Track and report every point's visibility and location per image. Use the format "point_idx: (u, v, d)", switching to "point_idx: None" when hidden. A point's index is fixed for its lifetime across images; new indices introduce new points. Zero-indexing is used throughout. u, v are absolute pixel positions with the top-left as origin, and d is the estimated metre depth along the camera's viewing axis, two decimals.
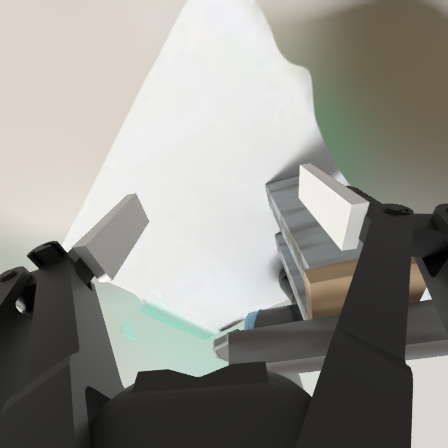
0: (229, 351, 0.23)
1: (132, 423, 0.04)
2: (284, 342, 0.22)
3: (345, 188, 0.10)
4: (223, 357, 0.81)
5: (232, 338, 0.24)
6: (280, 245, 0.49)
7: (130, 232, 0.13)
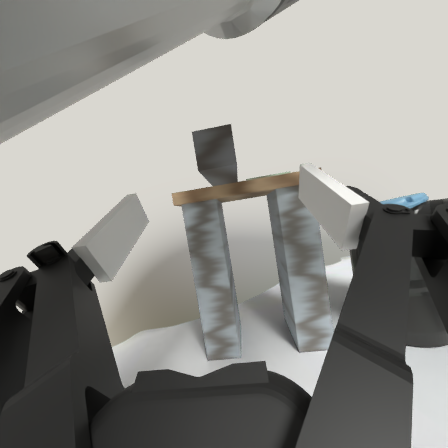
0: (195, 149, 0.19)
1: (132, 423, 0.04)
2: None
3: (345, 188, 0.10)
4: None
5: None
6: (294, 323, 0.32)
7: (130, 232, 0.13)
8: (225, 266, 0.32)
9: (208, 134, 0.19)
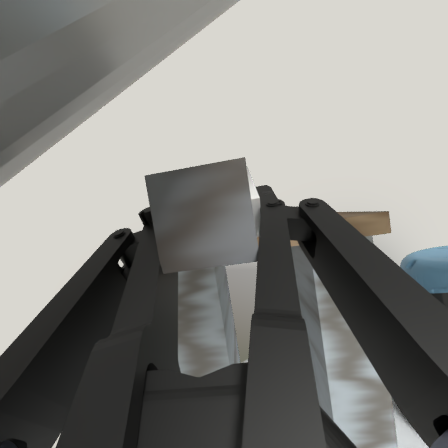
0: (153, 218, 0.08)
1: (132, 423, 0.04)
2: None
3: (253, 187, 0.12)
4: None
5: None
6: None
7: None
8: (227, 360, 0.20)
9: (186, 183, 0.07)
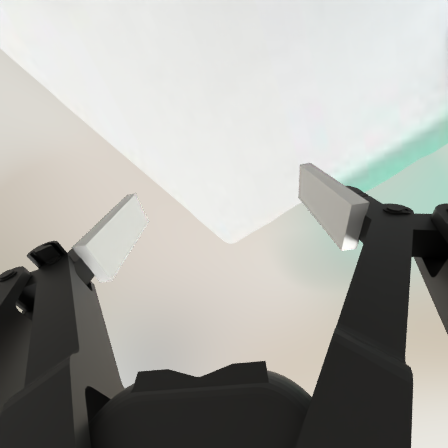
0: None
1: (132, 423, 0.04)
2: None
3: (345, 188, 0.10)
4: None
5: None
6: None
7: (130, 232, 0.13)
8: None
9: None
